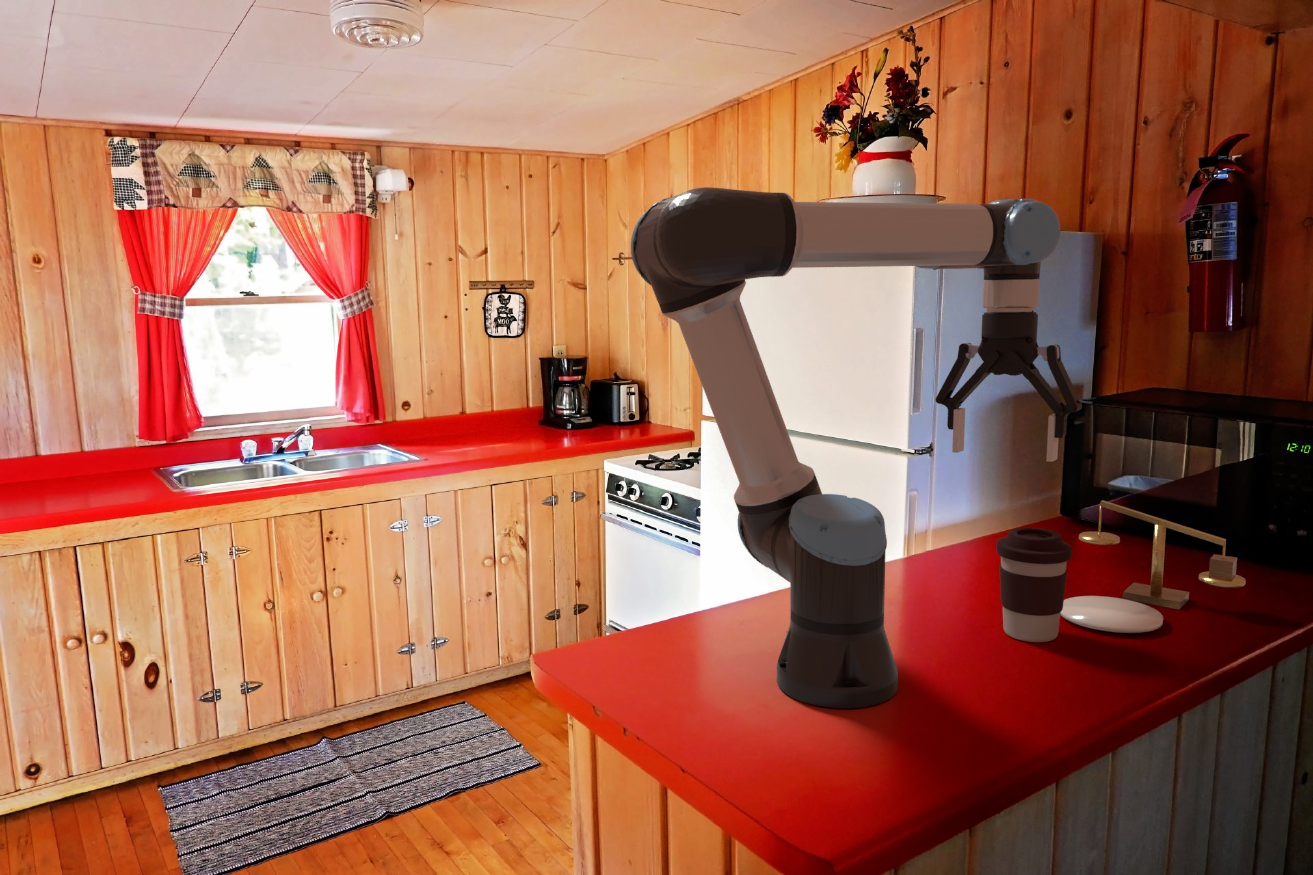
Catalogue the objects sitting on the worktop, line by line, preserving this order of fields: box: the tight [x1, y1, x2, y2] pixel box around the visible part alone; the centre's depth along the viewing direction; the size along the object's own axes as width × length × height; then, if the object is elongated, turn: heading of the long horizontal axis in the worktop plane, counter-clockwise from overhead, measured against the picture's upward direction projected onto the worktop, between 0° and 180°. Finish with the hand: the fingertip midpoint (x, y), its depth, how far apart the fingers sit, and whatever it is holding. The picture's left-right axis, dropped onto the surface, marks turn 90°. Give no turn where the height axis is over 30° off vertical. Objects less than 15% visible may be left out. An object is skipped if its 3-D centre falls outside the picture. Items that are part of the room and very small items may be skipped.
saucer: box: [1060, 595, 1164, 634], centre depth 136 cm, size 14×14×1 cm
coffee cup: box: [996, 527, 1073, 643], centre depth 130 cm, size 10×10×15 cm
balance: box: [1078, 499, 1247, 611], centre depth 143 cm, size 6×24×15 cm, turn 48°
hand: (1003, 455), depth 134 cm, fingers open, 13 cm apart
